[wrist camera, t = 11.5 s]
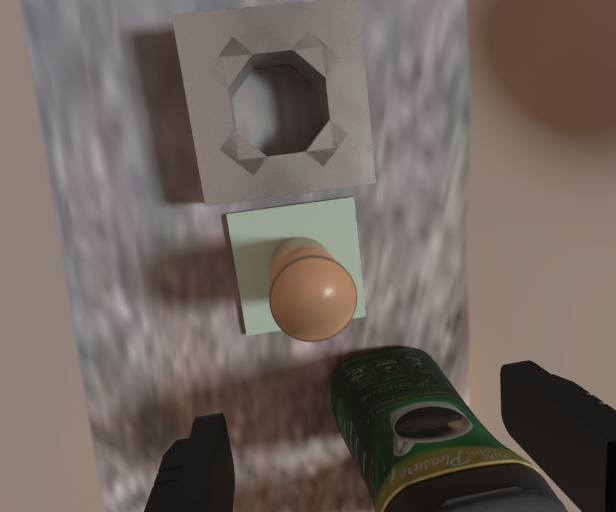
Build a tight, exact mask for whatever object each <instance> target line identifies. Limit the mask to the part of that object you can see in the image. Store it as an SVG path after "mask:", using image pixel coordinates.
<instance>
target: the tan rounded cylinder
mask: <svg viewBox="0 0 616 512" xmlns="http://www.w3.org/2000/svg"><path fill="white" fill-rule="evenodd" d="M269 272H270V292H269V305H270V311H271V314H272V317H273V319H274V321H275V322H276V324H277V325H278V327H279V328H280V329H281V330H282V331H283V332H285V333H286V334H287V335H289V336H291V337H292V338H295V339H297V340H300V341H305V342H319V341H323V340H327V339H329V338H332V337H334V336H336V335H337V334H338V333H340V332H341V331H342V330H343V329H345V327H346V326H347V325H348V324H349V322H350V321H351V319H352V318H353V316H354V313H355V310H356V306H357V289H356V285H355V283H354V280H353V278H352V277H351V275H350V274H349V272H348V271H347V270H346V269H345V268H344V267H343V266H342V265H341V264H340V263H339V262H337V261H336V260H335V259H334V258H333V257H332V255H331V254H330V253H329V252H328V251H327V250H326V249H325V247H324V246H323V245H322V244H320V243H319V242H318V241H316V240H314V239H311V238H308V237H294V238H291V239H288V240H286V241H284V242H283V243H281V244H280V245H279V246H278V247H277V248H276V249H275V251H274V253H273V254H272V257H271V260H270V265H269Z"/></svg>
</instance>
